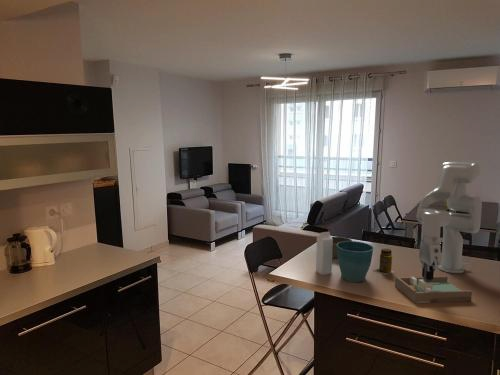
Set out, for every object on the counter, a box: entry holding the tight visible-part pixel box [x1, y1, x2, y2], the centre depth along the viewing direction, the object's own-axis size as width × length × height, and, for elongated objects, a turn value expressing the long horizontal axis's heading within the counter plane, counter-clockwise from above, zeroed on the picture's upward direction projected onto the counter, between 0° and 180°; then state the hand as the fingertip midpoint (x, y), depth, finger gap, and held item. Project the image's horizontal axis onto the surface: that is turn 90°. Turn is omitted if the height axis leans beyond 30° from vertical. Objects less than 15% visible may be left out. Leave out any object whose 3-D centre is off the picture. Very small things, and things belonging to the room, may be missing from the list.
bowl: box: [331, 236, 353, 259], centre depth 221 cm, size 17×18×10 cm
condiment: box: [373, 248, 395, 276], centre depth 194 cm, size 7×8×12 cm
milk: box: [315, 231, 333, 276], centre depth 192 cm, size 6×6×22 cm
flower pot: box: [337, 240, 375, 283], centre depth 184 cm, size 18×18×17 cm
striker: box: [418, 263, 440, 291], centre depth 166 cm, size 9×5×13 cm, turn 95°
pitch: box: [394, 275, 473, 304], centre depth 167 cm, size 26×18×5 cm
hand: (427, 277), depth 166 cm, fingers closed on striker, 2 cm apart
